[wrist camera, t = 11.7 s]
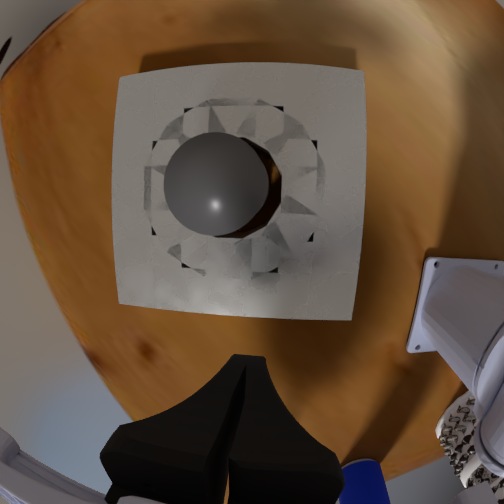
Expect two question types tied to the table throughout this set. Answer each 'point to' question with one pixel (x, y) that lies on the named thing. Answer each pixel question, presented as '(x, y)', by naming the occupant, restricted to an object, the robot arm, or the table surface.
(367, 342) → the table surface
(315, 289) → the grey square plate
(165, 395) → the table surface
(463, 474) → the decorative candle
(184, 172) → the grey rounded cylinder
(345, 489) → the beverage can
